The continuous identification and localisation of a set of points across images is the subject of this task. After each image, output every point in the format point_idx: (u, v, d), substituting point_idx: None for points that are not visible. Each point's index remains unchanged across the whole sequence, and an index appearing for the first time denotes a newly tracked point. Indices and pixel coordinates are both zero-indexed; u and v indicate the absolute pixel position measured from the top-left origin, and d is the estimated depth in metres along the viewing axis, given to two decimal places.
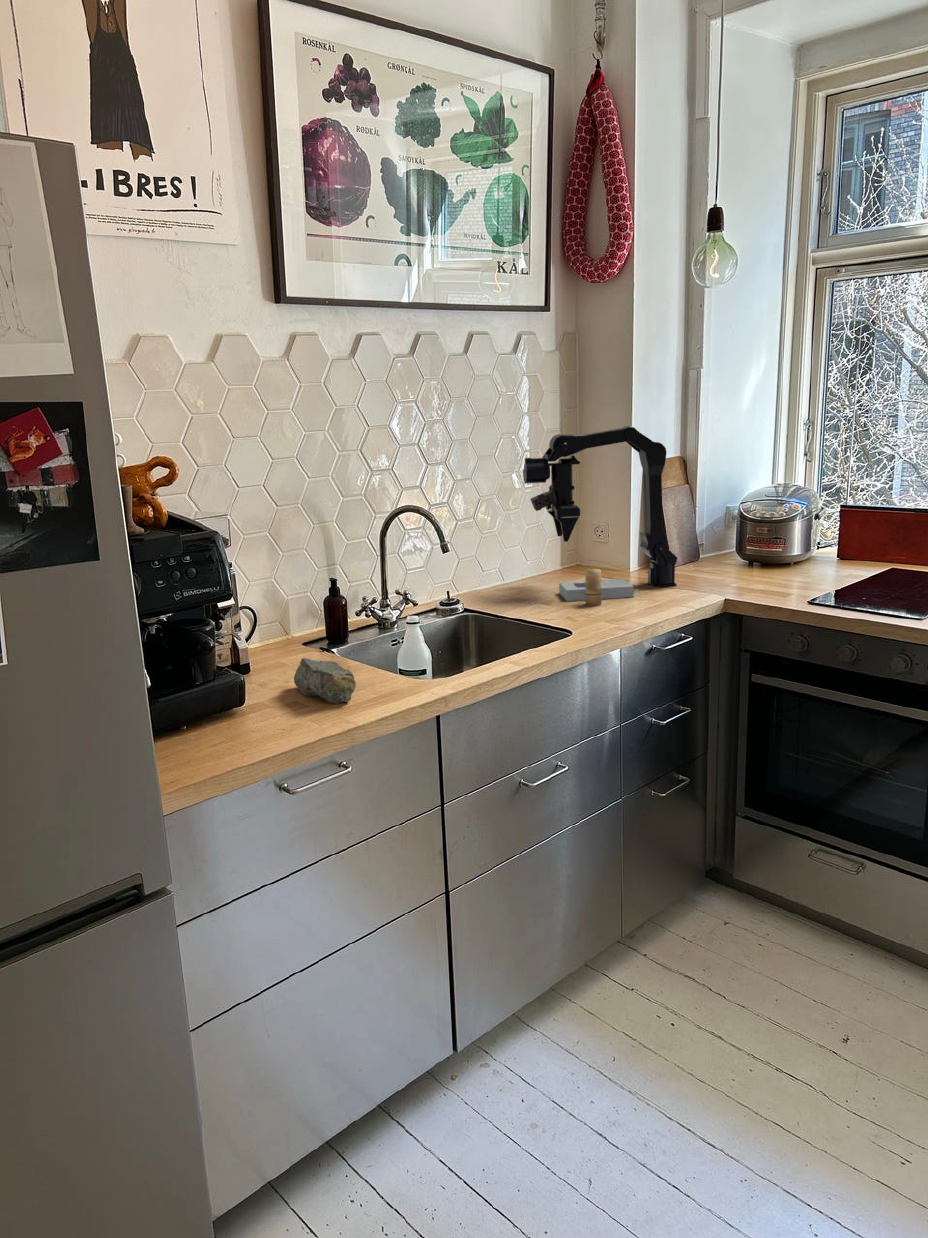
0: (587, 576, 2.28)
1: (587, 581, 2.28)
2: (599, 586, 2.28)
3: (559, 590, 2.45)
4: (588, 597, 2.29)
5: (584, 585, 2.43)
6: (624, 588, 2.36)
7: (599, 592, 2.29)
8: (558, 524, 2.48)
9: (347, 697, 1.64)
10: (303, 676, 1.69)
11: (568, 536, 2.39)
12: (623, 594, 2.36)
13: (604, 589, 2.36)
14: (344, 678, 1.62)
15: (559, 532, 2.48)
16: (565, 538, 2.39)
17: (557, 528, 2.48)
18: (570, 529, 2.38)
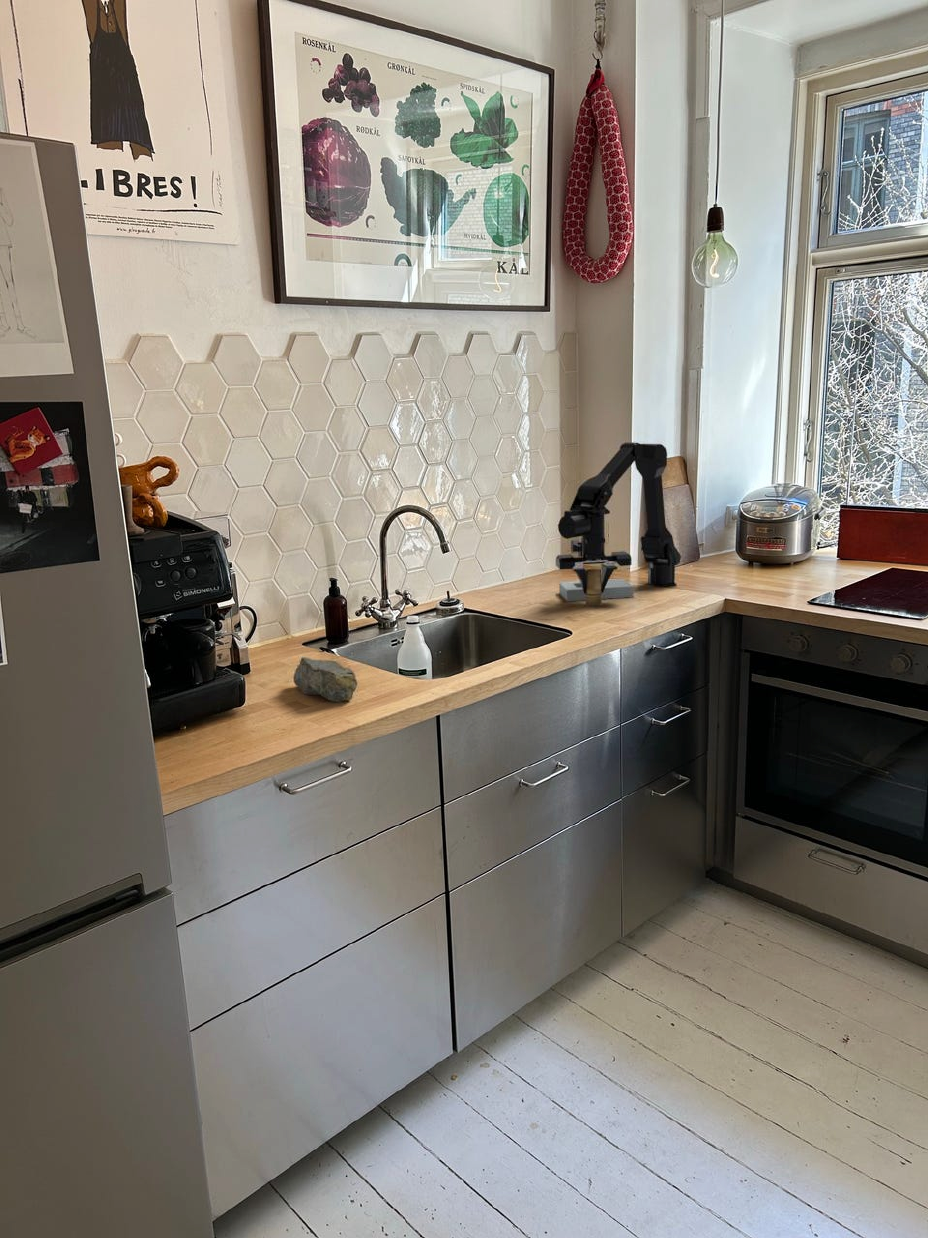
0: (587, 576, 2.28)
1: (587, 581, 2.28)
2: (599, 586, 2.28)
3: (559, 590, 2.45)
4: (588, 597, 2.29)
5: None
6: (624, 588, 2.36)
7: (599, 592, 2.29)
8: (602, 579, 2.30)
9: (349, 696, 1.65)
10: (303, 675, 1.70)
11: (583, 588, 2.29)
12: (623, 594, 2.36)
13: (604, 589, 2.36)
14: (346, 677, 1.63)
15: (601, 588, 2.30)
16: (583, 589, 2.30)
17: None
18: (581, 581, 2.28)
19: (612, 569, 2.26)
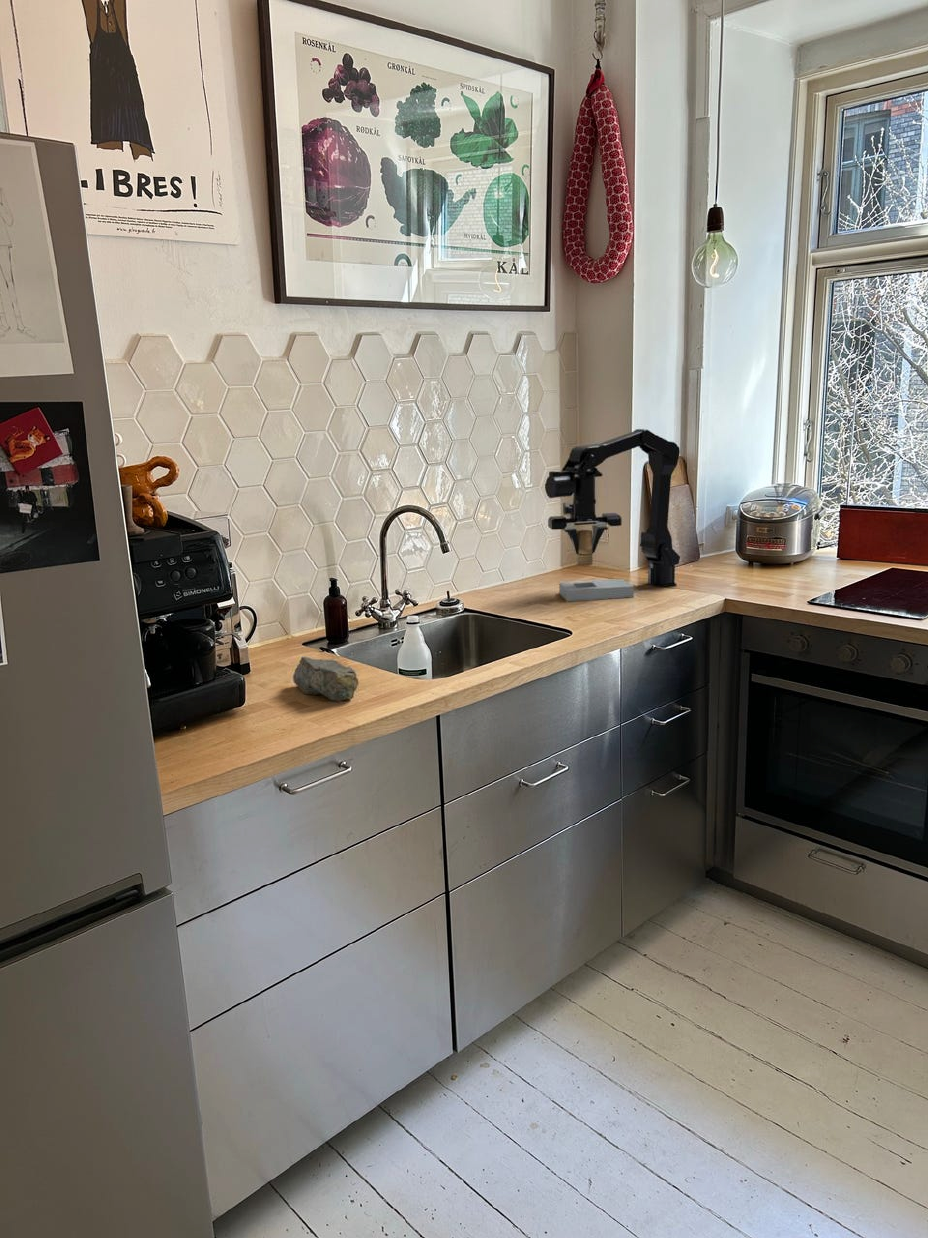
0: (579, 536, 2.35)
1: (579, 541, 2.36)
2: (590, 546, 2.36)
3: (559, 590, 2.45)
4: (580, 557, 2.37)
5: (584, 585, 2.43)
6: (624, 588, 2.36)
7: (590, 552, 2.36)
8: (593, 539, 2.37)
9: (350, 695, 1.65)
10: (304, 675, 1.70)
11: (574, 549, 2.37)
12: (623, 594, 2.36)
13: (604, 589, 2.36)
14: (347, 676, 1.64)
15: (592, 548, 2.38)
16: None
17: (592, 544, 2.38)
18: (572, 542, 2.36)
19: (603, 529, 2.34)
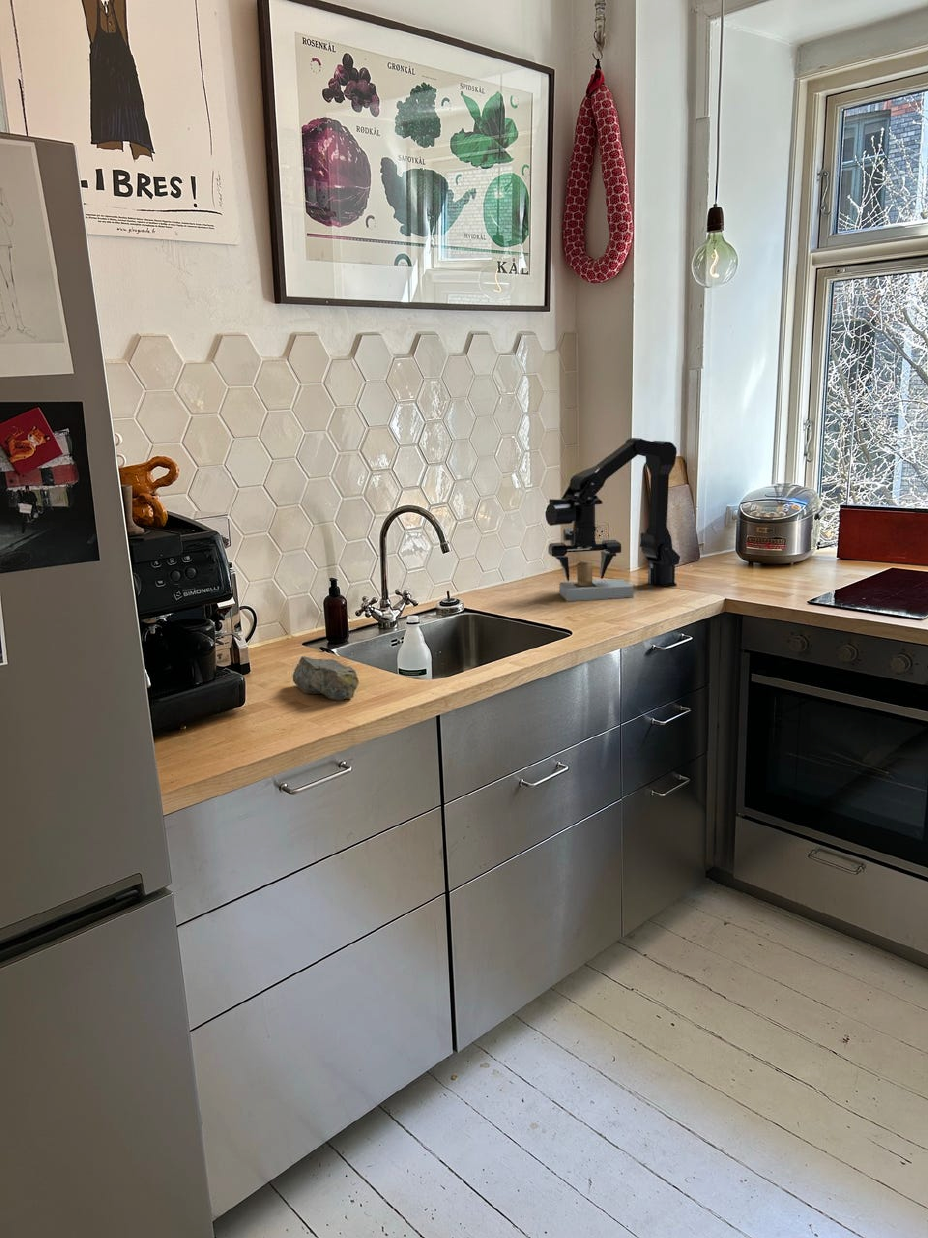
0: (579, 569, 2.38)
1: (579, 573, 2.38)
2: (590, 578, 2.38)
3: (559, 590, 2.45)
4: None
5: None
6: (624, 588, 2.36)
7: (590, 584, 2.38)
8: (602, 565, 2.39)
9: (350, 694, 1.66)
10: (303, 674, 1.70)
11: (566, 576, 2.38)
12: (623, 594, 2.36)
13: (604, 589, 2.36)
14: (347, 675, 1.64)
15: (600, 574, 2.40)
16: (566, 577, 2.39)
17: (600, 570, 2.40)
18: (564, 569, 2.37)
19: (611, 556, 2.36)
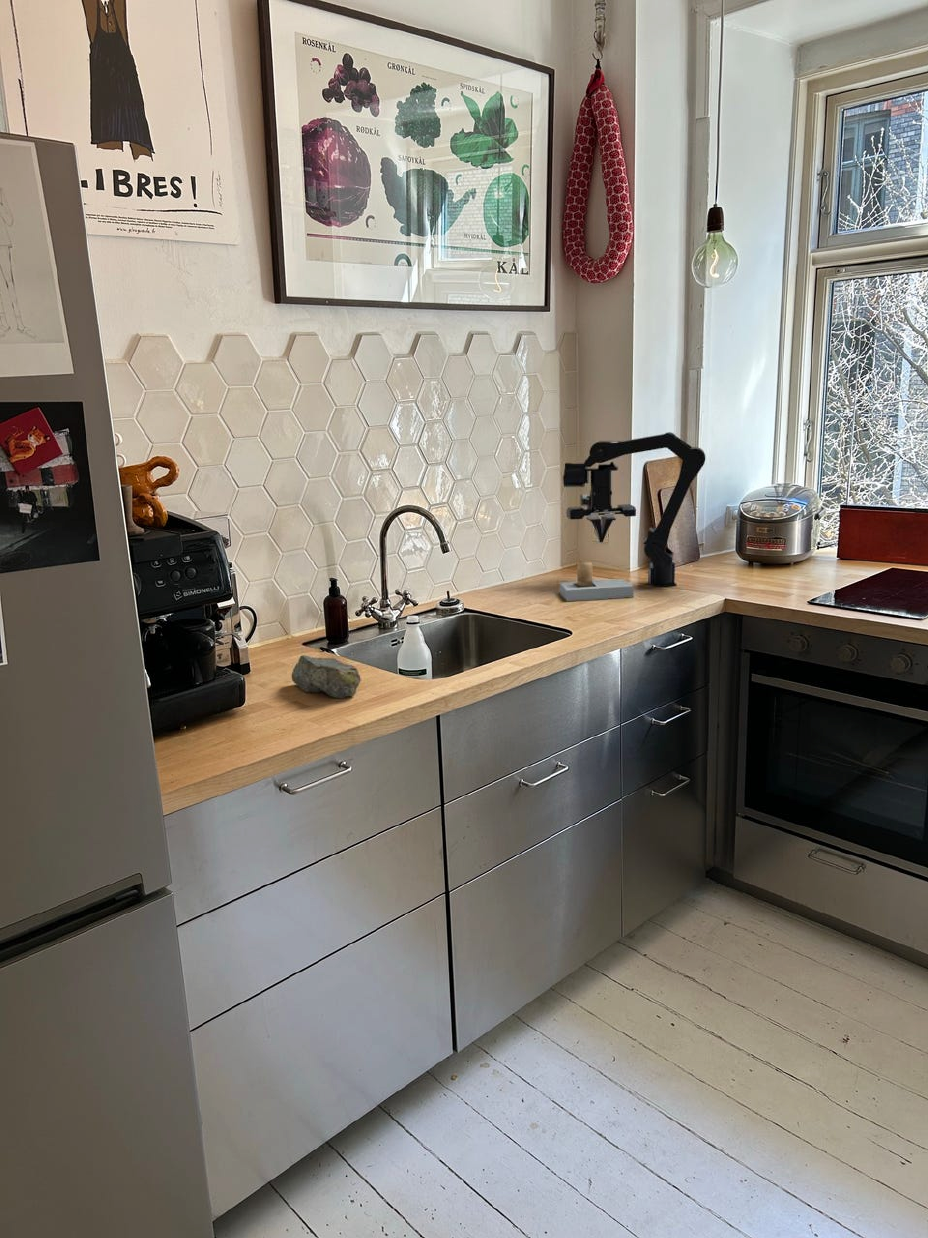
0: (579, 569, 2.38)
1: (579, 573, 2.38)
2: (590, 578, 2.38)
3: (559, 590, 2.45)
4: None
5: None
6: (624, 588, 2.36)
7: (590, 584, 2.38)
8: (602, 529, 2.51)
9: (352, 691, 1.67)
10: (304, 673, 1.71)
11: (598, 537, 2.51)
12: (623, 594, 2.36)
13: (604, 589, 2.36)
14: (349, 673, 1.66)
15: None
16: (598, 538, 2.52)
17: None
18: (597, 531, 2.50)
19: (611, 520, 2.48)
